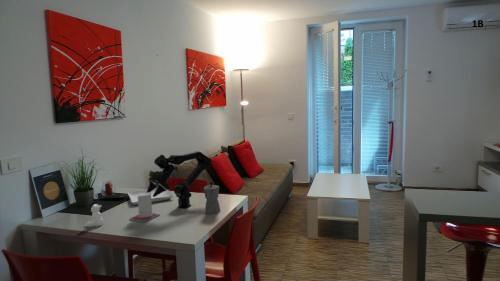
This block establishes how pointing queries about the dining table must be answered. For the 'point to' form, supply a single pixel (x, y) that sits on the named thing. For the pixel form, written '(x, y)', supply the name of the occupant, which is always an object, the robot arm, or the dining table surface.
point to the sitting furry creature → (95, 217)
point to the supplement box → (144, 205)
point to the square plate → (160, 197)
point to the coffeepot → (212, 199)
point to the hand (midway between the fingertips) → (150, 194)
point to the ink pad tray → (144, 218)
